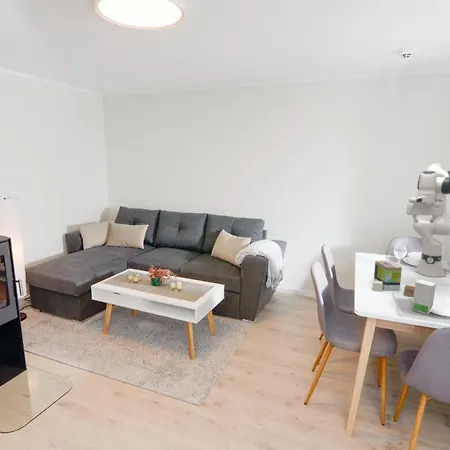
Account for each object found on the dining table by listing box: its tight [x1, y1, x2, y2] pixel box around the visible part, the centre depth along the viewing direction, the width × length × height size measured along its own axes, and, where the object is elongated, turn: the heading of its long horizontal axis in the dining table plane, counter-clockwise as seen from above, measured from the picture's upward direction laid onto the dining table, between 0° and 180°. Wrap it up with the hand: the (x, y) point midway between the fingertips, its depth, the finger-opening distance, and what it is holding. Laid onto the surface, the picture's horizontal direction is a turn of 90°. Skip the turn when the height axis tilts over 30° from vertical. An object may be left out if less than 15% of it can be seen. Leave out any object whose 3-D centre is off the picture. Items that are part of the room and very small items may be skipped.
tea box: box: [373, 260, 403, 291], centre depth 211 cm, size 15×10×15 cm
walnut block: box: [403, 284, 415, 298], centre depth 197 cm, size 5×5×5 cm
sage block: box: [372, 279, 383, 293], centre depth 206 cm, size 5×5×5 cm
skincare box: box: [411, 279, 437, 315], centre depth 175 cm, size 8×7×16 cm
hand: (423, 222), depth 199 cm, fingers open, 8 cm apart
